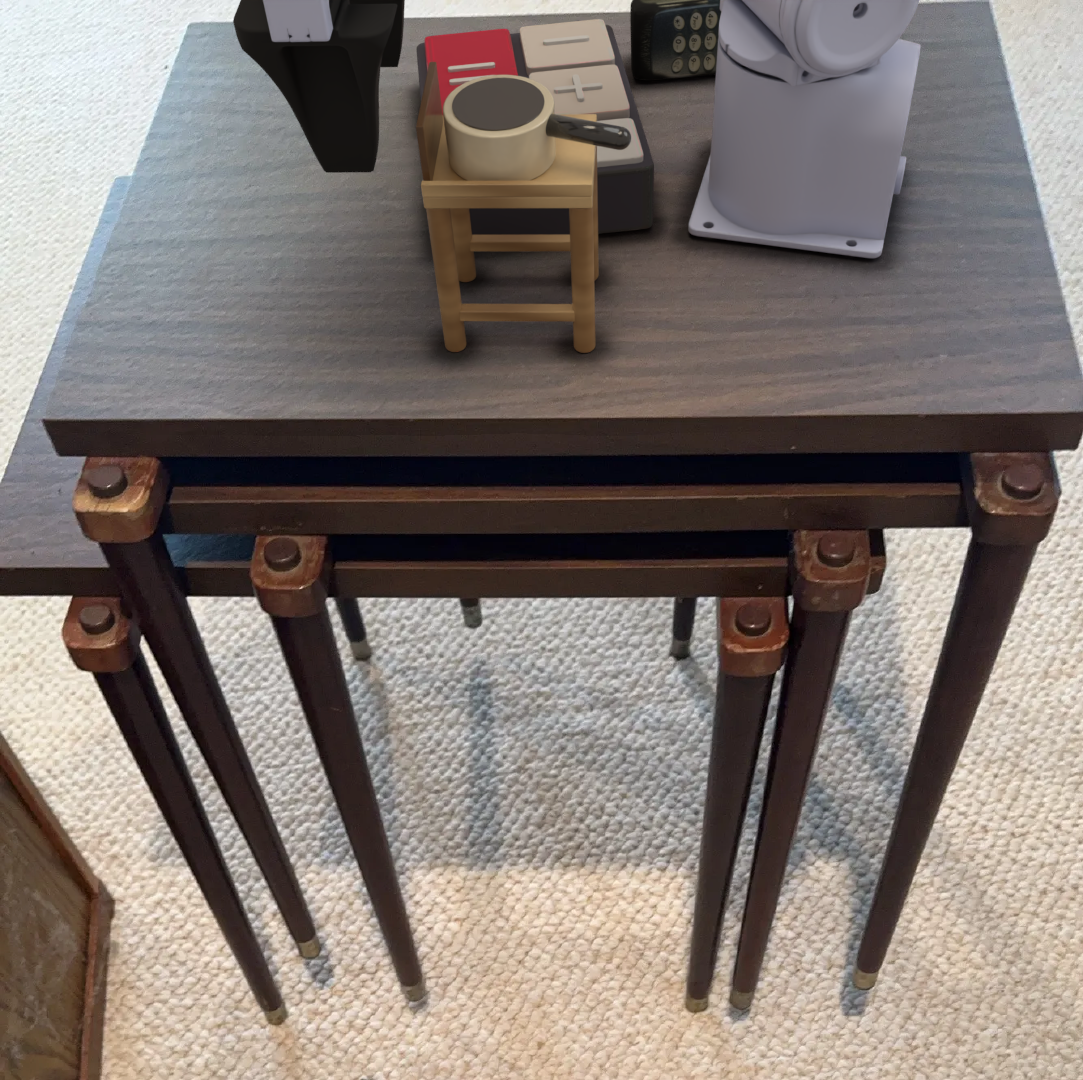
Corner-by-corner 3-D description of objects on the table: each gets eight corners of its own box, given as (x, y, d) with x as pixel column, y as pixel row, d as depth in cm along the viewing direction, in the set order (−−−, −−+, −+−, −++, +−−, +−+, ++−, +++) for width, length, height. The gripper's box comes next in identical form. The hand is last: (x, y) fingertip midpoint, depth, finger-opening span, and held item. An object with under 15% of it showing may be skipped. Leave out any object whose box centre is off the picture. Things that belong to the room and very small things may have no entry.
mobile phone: (632, 9, 69) (909, -22, 69) (625, -18, 71) (895, -49, 71) (634, 93, 73) (896, 62, 73) (627, 64, 75) (882, 35, 75)
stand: (599, 269, 63) (597, 125, 57) (595, 353, 59) (592, 208, 53) (457, 269, 63) (439, 126, 57) (444, 352, 59) (424, 209, 53)
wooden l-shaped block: (597, 125, 57) (596, 52, 54) (592, 208, 53) (591, 134, 50) (439, 126, 57) (430, 53, 54) (424, 209, 53) (413, 135, 51)
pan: (430, 175, 54) (423, 123, 52) (474, 116, 56) (469, 64, 54) (611, 213, 52) (610, 160, 50) (648, 149, 54) (649, 96, 52)
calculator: (611, 8, 71) (656, 152, 61) (612, 81, 74) (654, 229, 64) (413, 28, 71) (426, 176, 61) (423, 100, 74) (436, 252, 64)
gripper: (230, -320, 48) (299, 23, 58) (131, -151, 39) (233, 220, 49) (417, -326, 47) (453, 21, 58) (361, -156, 38) (415, 219, 49)
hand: (363, 113), depth 54 cm, fingers open, 7 cm apart
